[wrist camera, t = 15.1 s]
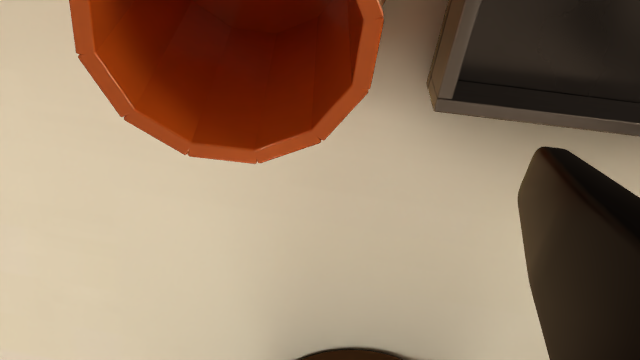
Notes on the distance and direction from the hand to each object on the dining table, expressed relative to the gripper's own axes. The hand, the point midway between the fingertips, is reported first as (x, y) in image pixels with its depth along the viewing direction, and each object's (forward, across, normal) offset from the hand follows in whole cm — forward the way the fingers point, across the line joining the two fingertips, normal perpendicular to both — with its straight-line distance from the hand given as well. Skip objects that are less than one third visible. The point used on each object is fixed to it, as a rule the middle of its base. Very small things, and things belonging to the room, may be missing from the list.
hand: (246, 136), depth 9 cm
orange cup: (+10, +1, 0) cm, 10 cm away
